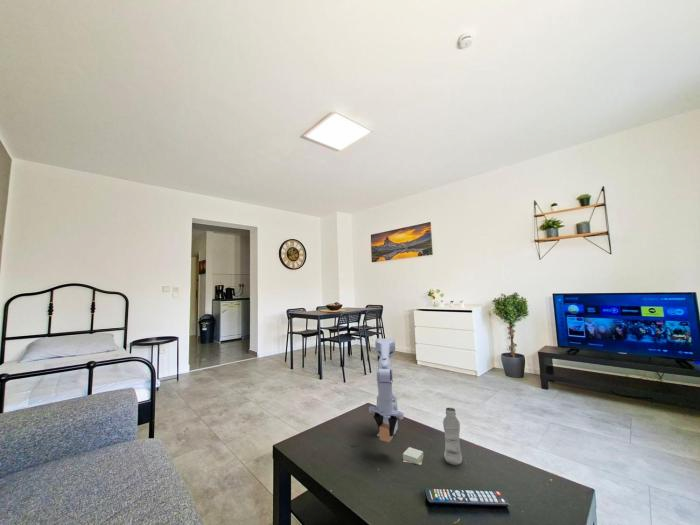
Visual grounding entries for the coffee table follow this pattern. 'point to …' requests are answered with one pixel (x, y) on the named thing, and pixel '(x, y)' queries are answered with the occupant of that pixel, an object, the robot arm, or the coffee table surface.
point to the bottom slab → (414, 463)
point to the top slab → (413, 455)
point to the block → (385, 432)
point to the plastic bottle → (452, 438)
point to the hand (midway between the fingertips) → (386, 433)
